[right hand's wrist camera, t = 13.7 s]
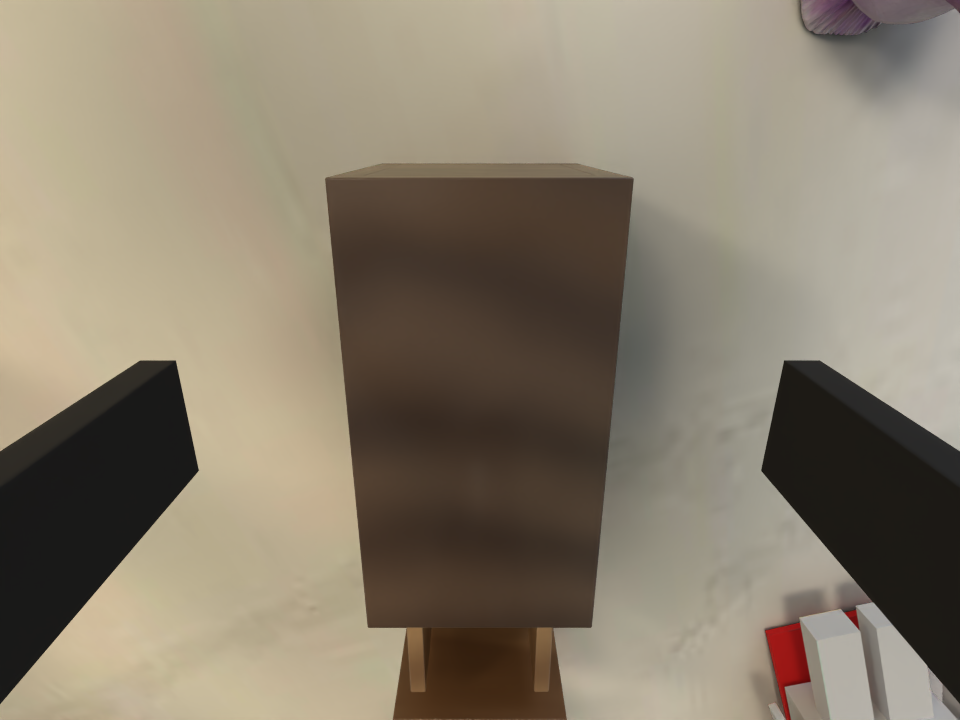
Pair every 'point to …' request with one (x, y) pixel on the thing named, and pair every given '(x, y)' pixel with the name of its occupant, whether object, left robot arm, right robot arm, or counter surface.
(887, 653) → the toy
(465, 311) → the cabinet
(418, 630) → the drawer
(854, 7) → the figurine
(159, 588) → the counter surface
